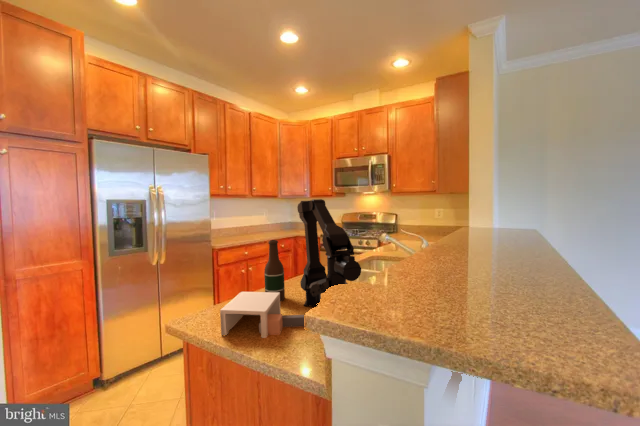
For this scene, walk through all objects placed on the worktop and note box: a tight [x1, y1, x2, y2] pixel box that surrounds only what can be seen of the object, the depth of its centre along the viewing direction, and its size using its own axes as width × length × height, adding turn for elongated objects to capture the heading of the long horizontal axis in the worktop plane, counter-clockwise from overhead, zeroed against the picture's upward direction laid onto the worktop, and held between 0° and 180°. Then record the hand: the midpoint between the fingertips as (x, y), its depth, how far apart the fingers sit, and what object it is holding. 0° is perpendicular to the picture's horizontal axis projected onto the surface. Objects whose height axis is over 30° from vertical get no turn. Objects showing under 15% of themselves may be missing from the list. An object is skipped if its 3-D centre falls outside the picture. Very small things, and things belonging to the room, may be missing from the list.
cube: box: [267, 313, 284, 336], centre depth 88 cm, size 4×4×4 cm
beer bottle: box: [264, 239, 286, 303], centre depth 114 cm, size 8×8×24 cm
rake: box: [258, 314, 305, 334], centre depth 90 cm, size 6×19×3 cm, turn 91°
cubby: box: [219, 291, 282, 339], centre depth 93 cm, size 16×14×8 cm
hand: (337, 320), depth 90 cm, fingers open, 9 cm apart
